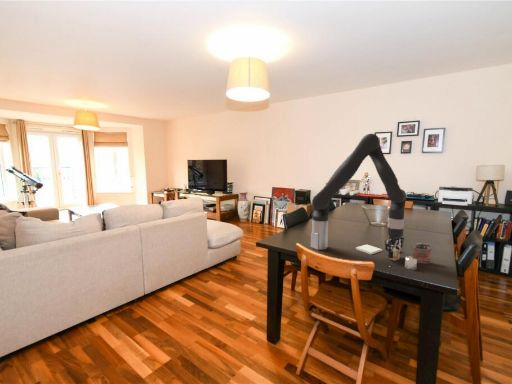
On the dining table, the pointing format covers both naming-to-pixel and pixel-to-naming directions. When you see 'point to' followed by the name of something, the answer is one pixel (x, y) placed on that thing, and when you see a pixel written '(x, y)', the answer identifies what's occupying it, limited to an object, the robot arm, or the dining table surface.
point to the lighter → (422, 253)
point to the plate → (369, 249)
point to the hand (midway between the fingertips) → (393, 256)
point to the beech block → (395, 254)
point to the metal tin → (410, 263)
